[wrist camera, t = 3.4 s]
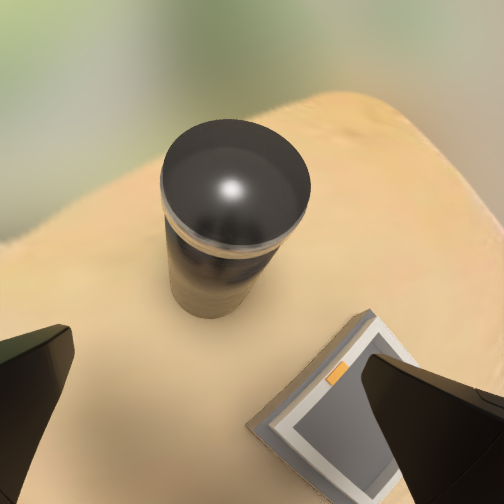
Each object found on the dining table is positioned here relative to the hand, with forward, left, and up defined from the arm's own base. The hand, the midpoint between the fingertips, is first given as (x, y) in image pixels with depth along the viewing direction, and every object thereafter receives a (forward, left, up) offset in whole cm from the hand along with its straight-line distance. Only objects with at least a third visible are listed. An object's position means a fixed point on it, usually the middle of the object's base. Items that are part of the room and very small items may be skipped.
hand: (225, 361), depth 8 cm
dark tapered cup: (+5, -5, -13) cm, 15 cm away
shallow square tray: (-10, -6, -13) cm, 18 cm away
